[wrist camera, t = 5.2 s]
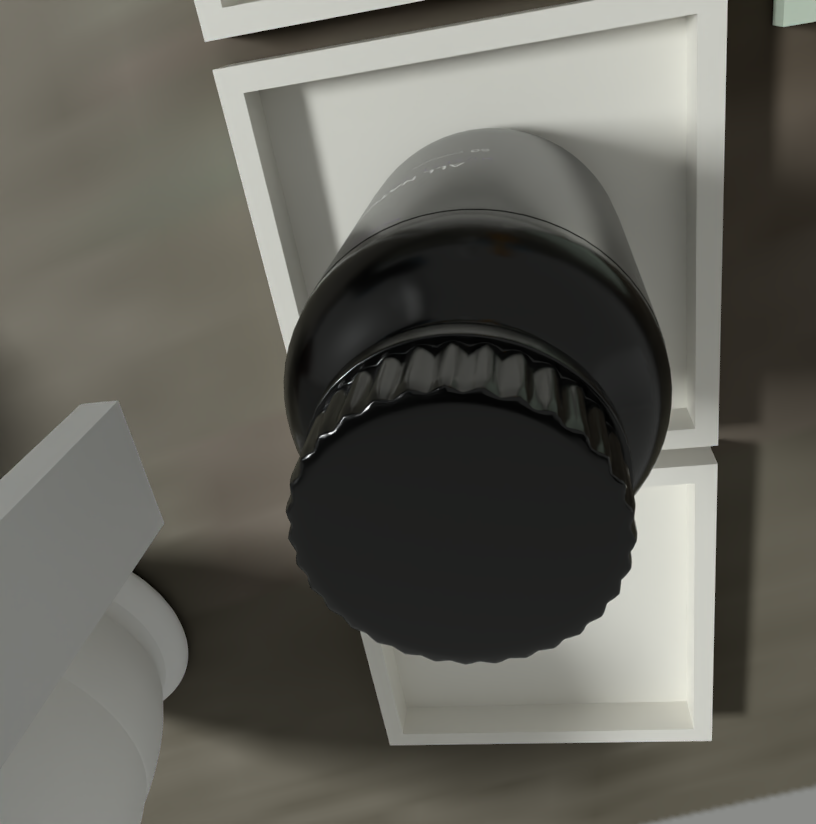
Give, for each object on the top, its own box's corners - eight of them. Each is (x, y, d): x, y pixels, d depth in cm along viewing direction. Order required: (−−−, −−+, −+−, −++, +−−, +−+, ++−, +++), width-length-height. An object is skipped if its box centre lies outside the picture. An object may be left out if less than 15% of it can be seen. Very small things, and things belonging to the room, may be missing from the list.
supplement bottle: (412, 79, 19) (290, 203, 8) (668, 184, 19) (853, 425, 9) (329, 322, 22) (169, 626, 12) (549, 406, 23) (581, 769, 12)
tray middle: (230, 64, 19) (212, 69, 18) (712, -24, 17) (728, -24, 16) (328, 452, 25) (319, 477, 23) (707, 420, 23) (718, 445, 21)
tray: (332, 468, 25) (323, 493, 24) (706, 438, 23) (717, 464, 22) (395, 714, 30) (390, 745, 29) (702, 707, 28) (711, 740, 27)
